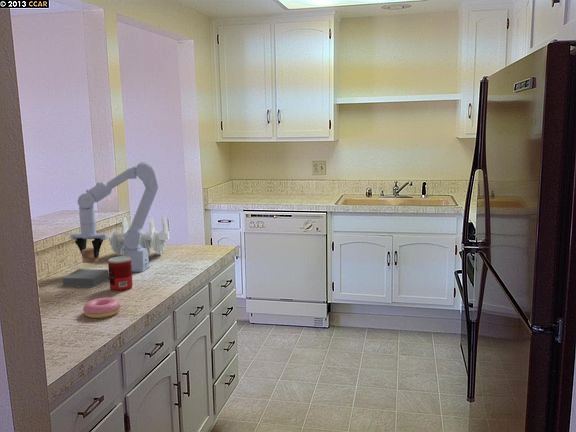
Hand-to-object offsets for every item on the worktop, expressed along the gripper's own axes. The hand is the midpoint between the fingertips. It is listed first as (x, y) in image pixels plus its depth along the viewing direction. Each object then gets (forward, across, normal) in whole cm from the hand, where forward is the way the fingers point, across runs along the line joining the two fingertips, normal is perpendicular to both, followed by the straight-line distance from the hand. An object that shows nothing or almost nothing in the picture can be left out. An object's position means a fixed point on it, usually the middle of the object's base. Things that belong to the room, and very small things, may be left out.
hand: (90, 256), depth 206 cm
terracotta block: (+2, 0, 0) cm, 2 cm away
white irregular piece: (+7, +9, +30) cm, 32 cm away
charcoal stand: (+6, +4, -12) cm, 14 cm away
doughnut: (+7, +26, -44) cm, 52 cm away
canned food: (+7, +21, -19) cm, 29 cm away
